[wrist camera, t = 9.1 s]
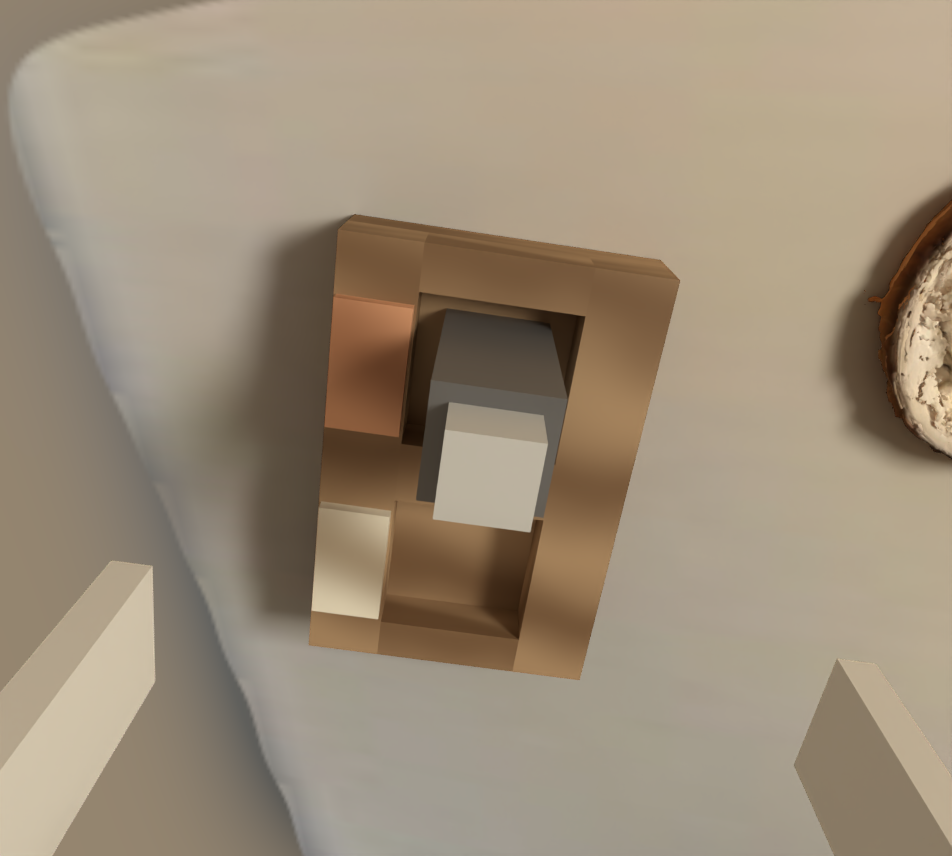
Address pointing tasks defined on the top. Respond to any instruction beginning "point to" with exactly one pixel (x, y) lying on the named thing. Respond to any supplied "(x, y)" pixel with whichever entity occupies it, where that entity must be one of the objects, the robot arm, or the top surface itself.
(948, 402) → the bagel
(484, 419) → the plug
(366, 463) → the socket board
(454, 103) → the top surface
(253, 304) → the top surface
